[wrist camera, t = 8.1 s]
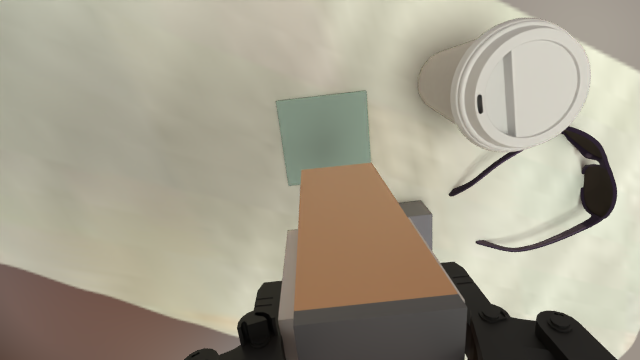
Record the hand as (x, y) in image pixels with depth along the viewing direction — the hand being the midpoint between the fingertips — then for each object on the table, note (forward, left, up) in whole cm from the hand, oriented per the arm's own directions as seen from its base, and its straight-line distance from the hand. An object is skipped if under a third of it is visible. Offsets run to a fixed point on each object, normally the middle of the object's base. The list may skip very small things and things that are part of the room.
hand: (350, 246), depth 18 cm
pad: (0, +1, -22) cm, 22 cm away
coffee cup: (+14, +6, -22) cm, 27 cm away
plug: (0, 0, -7) cm, 7 cm away
